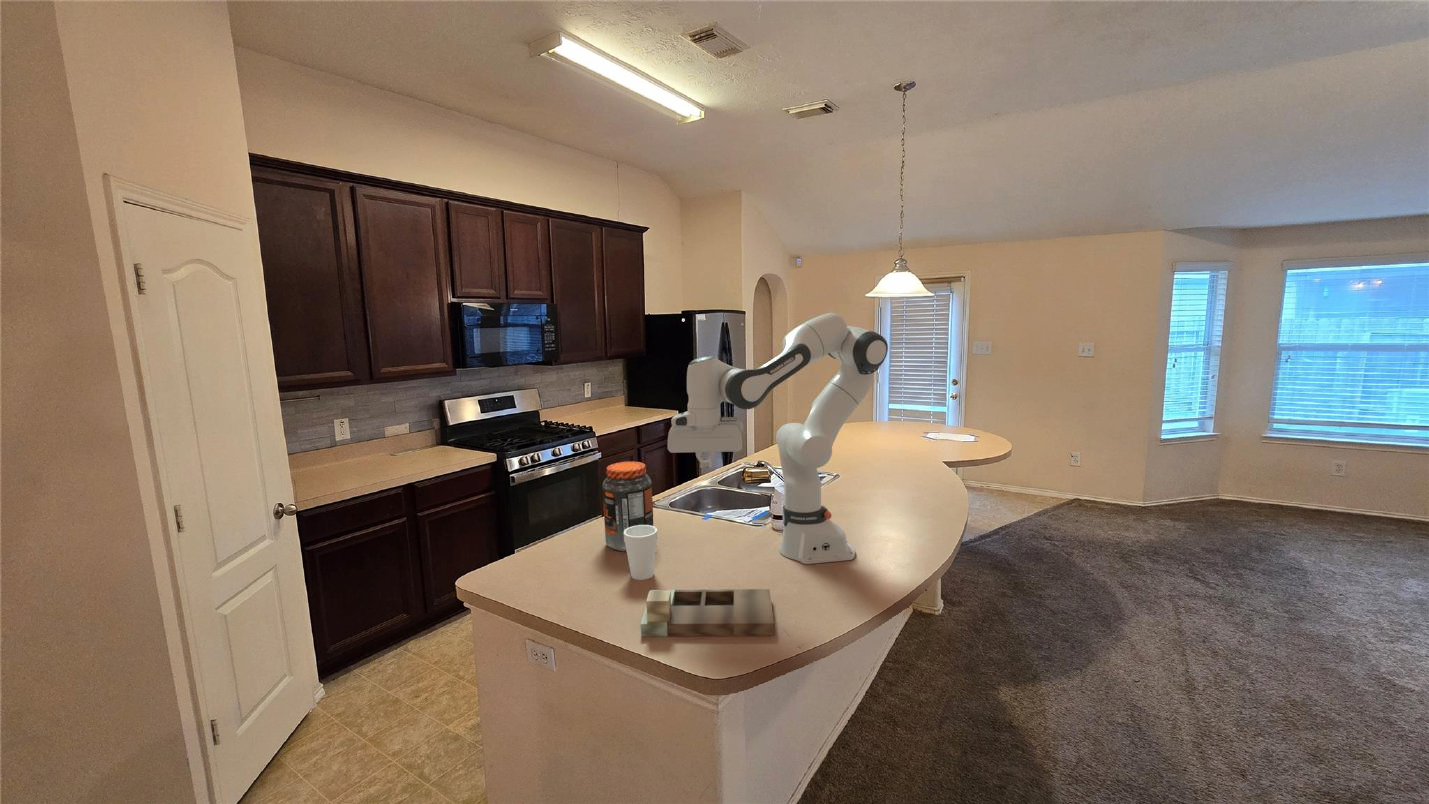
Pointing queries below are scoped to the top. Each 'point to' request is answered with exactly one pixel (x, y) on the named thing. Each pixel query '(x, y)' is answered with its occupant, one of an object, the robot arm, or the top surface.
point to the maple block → (659, 606)
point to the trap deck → (715, 614)
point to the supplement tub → (626, 501)
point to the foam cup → (641, 550)
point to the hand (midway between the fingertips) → (705, 467)
